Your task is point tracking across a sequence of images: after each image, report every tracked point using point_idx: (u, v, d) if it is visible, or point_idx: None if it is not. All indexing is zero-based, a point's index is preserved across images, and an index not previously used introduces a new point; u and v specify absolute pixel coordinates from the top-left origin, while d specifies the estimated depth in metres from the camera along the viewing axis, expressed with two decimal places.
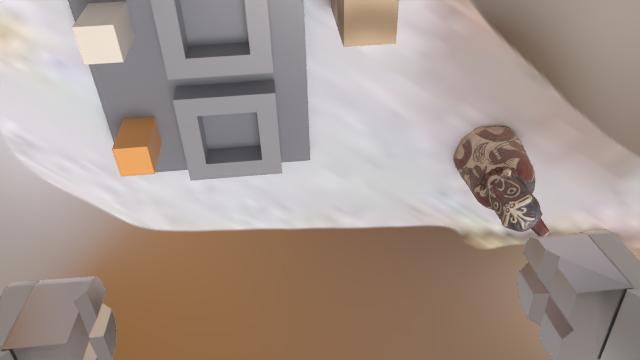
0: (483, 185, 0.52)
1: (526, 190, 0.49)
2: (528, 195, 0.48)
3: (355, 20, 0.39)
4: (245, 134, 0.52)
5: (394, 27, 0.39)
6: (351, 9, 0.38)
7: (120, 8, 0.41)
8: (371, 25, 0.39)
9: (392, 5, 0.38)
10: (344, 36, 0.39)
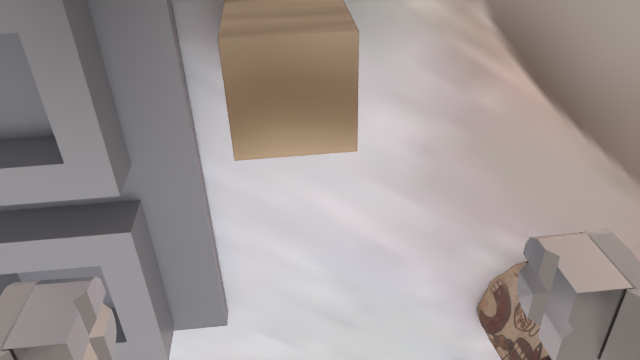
0: None
1: None
2: None
3: (254, 102, 0.16)
4: None
5: (352, 116, 0.16)
6: (242, 76, 0.15)
7: None
8: (296, 113, 0.16)
9: (343, 67, 0.16)
10: (233, 138, 0.16)
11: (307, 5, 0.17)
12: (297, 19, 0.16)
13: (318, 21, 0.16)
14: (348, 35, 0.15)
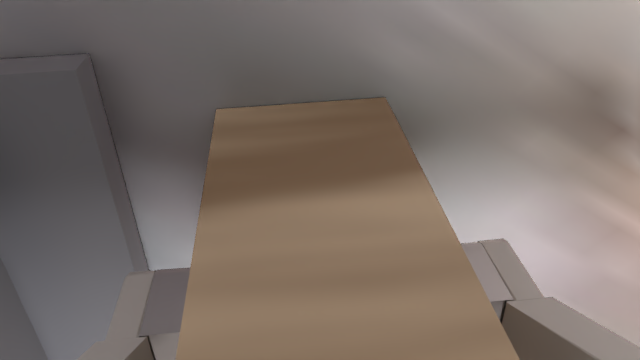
0: None
1: None
2: None
3: None
4: None
5: None
6: None
7: None
8: None
9: None
10: None
11: (373, 234, 0.08)
12: (362, 305, 0.07)
13: (416, 324, 0.07)
14: None
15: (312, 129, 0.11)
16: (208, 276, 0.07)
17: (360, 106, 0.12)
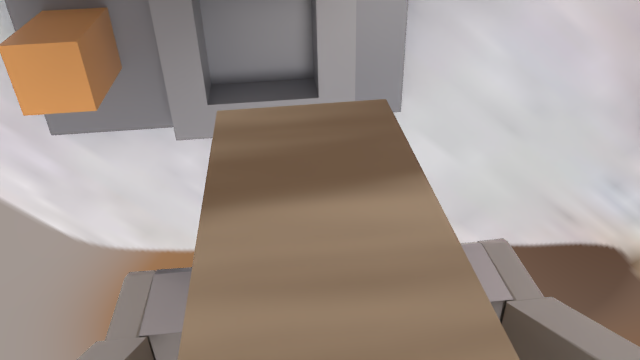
0: None
1: None
2: None
3: None
4: (284, 53, 0.27)
5: None
6: None
7: None
8: None
9: None
10: None
11: (374, 236, 0.08)
12: (363, 308, 0.07)
13: (417, 328, 0.07)
14: None
15: (313, 131, 0.11)
16: (210, 279, 0.07)
17: (361, 108, 0.12)
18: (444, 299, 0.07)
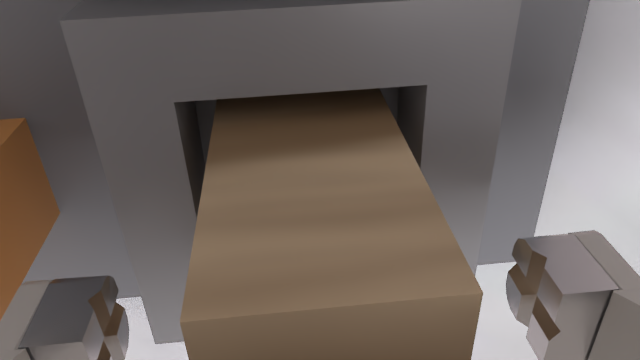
0: None
1: None
2: None
3: None
4: None
5: None
6: None
7: None
8: None
9: (442, 350, 0.08)
10: None
11: (356, 183, 0.09)
12: (344, 236, 0.08)
13: (388, 250, 0.08)
14: (459, 300, 0.07)
15: (306, 102, 0.12)
16: (214, 216, 0.09)
17: None
18: (413, 230, 0.08)
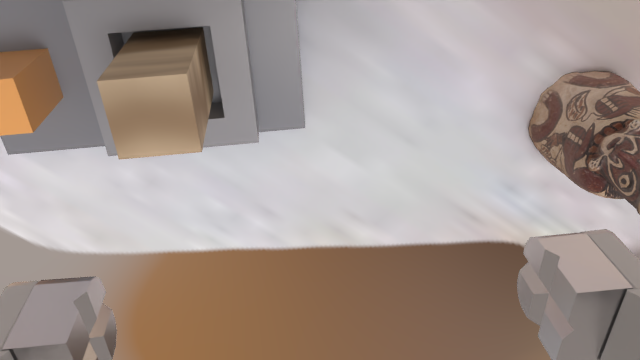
0: (591, 153, 0.32)
1: None
2: None
3: (126, 120, 0.25)
4: None
5: (193, 128, 0.25)
6: (116, 103, 0.24)
7: None
8: (155, 127, 0.25)
9: (181, 96, 0.24)
10: (116, 144, 0.25)
11: (168, 56, 0.26)
12: (155, 66, 0.25)
13: (166, 68, 0.24)
14: (181, 76, 0.24)
15: (167, 36, 0.29)
16: (114, 64, 0.25)
17: (190, 30, 0.30)
18: (178, 64, 0.25)
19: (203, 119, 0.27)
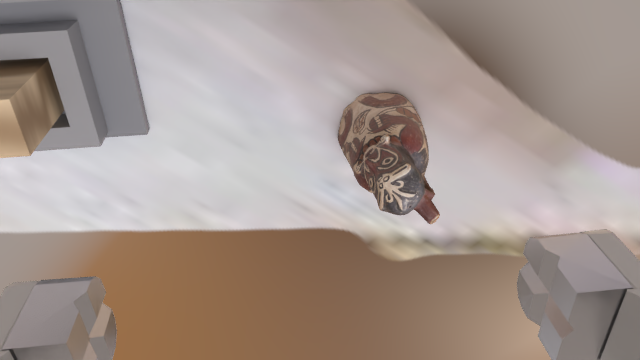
0: (360, 160, 0.40)
1: (406, 159, 0.37)
2: (406, 164, 0.36)
3: None
4: None
5: (21, 138, 0.34)
6: None
7: None
8: None
9: (7, 115, 0.33)
10: None
11: (7, 82, 0.35)
12: None
13: None
14: (5, 101, 0.32)
15: (19, 64, 0.38)
16: None
17: (41, 58, 0.39)
18: (8, 90, 0.33)
19: (39, 130, 0.36)
